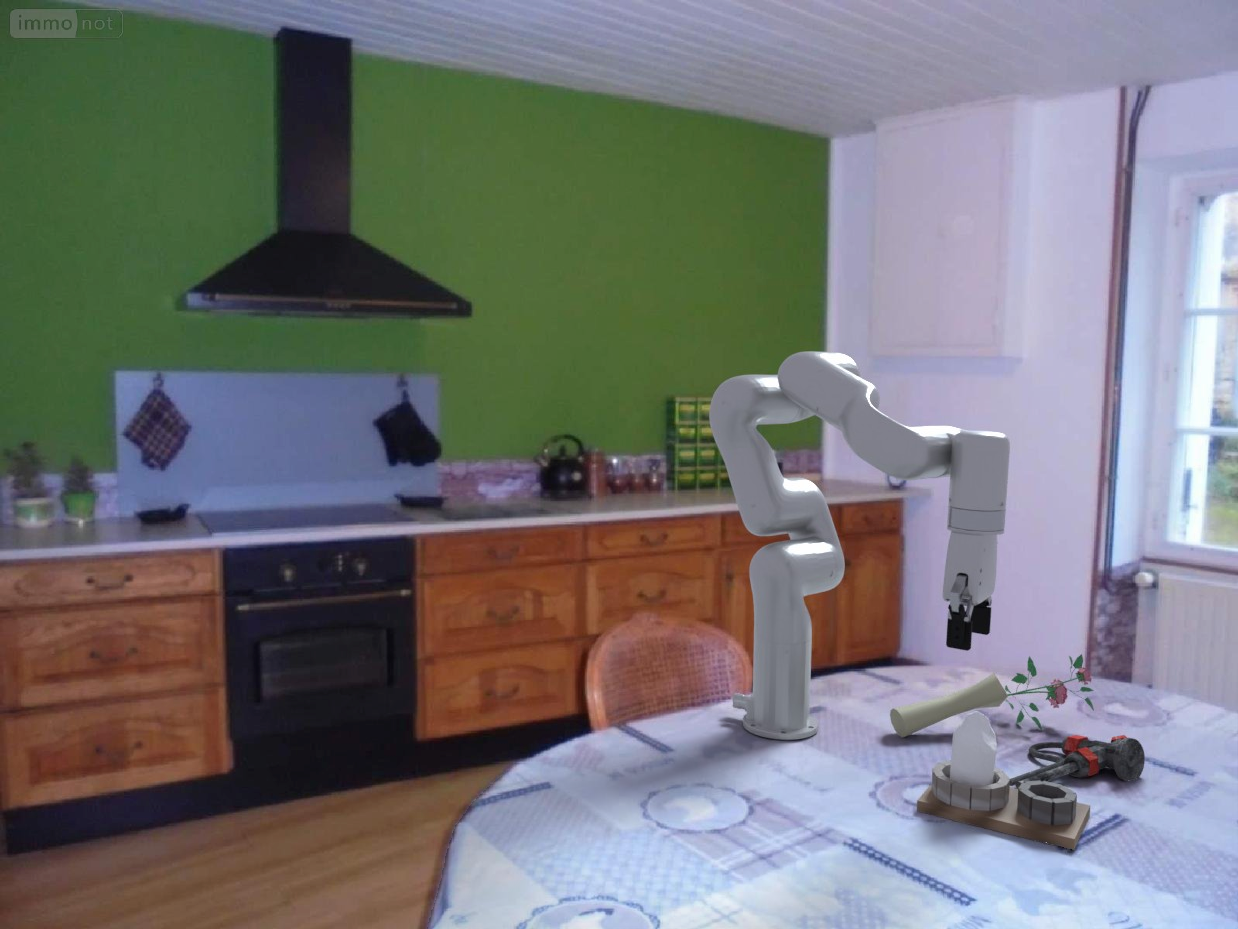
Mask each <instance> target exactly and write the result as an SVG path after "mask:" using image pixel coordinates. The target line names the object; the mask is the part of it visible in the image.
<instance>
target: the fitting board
mask: <svg viewBox="0 0 1238 929" xmlns="http://www.w3.org/2000/svg"><path fill="white" fill-rule="evenodd" d="M950 767H951V759H950V760H945V761H941V762H938V763H936V765H934V766H933V768H932V771H931V772H932V774H931V784H930V785H929V787H928V788H927V789H926V790H925V791H923V793H922V794H921V796H919V798H918V799H917V800H916V801H917V802H916V812H919V813H924V814H928V815H932V816H934V817H940V818H943V819H947V820H950V821H951V820H952V821H955V822H959V823H964V824H966V825H967V824H968V825H971V826H975V827H979V828H983V829H987V830H992V831H994V832H995V831H996V832H1000V833H1003V834H1007V835H1010V836H1011V835H1012V836H1014V835H1015V837H1018V836H1019V838H1023V839H1026V838H1027V840H1030V839H1032V840H1031V841H1034V840H1036V841H1035V842H1038V841H1039V843H1042V842H1047V843H1048V844H1047V845H1050V844H1053V845H1052V846H1054V845H1058V846H1061V847H1060V848H1062V847H1064V848H1063V849H1066V848H1067V850H1070V849H1072V850H1071V851H1075V849H1076V847H1077V844H1078V843H1077V842H1079V841H1080V838H1081V836H1082V834H1083V831H1084V829H1085V827H1086V825H1087V823H1088V820H1089V818H1090V814H1091V805H1089V804H1085V803H1081V802H1077V799H1078V794H1077V792H1075V791H1073V790H1072V789H1070V788H1069V787H1067V786H1066V785H1063V784H1059V783H1056V782H1052V781H1051V782H1050V781H1043V782H1042V781H1040V780H1039V781H1026V782H1024V783H1023V782H1022V783H1021V785H1020V787H1019V788H1018V789H1017V788H1016V787H1012V786H1010V779H1011V778H1010V777H1009V776H1008V774H1007V773H1006V772H1005V771H1004V770H1002V769H1000V768H997V767H995V768H994V776H993V784H991V785H986V786H985V785H969V784H965V783H960V782H956V781H954V780H952V779H950ZM1058 846H1057V847H1058Z"/></svg>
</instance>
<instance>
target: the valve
mask: <svg viewBox="0 0 1238 929" xmlns="http://www.w3.org/2000/svg"><path fill="white" fill-rule="evenodd" d="M1042 749H1061V751H1062V754H1064V755H1065V756H1066V757H1065V758H1063V757H1061V756H1057V755H1052V754H1048V753H1044V752H1040V751H1039V750H1042ZM1028 753H1029V754H1030V756H1032V757H1034V758H1036V759H1039V760H1043V761H1047V762H1051V764H1048V765H1046V766H1043V767H1040V768H1037V769H1035V770H1031V771H1028V772H1026V773H1023V774H1019V775H1018V776H1015V777H1011V778H1010V787H1013V786H1015V788H1016V789H1018V788H1019V787H1020V785H1021V783H1022V782H1023V783H1024V782H1026V781H1039V780H1040V781H1042V782H1043V781H1047V782H1050V781H1052V780H1054V779H1057V778H1060V777H1063V776H1066V775H1068V774H1069V776H1071V777H1073V778H1079V779H1084V778H1088V777H1091V776H1094V775H1096V774H1099V773H1100V772H1099V771H1100V770H1102V769H1104V768H1108V769H1114V771H1115V774H1116V776H1117V777H1118V778H1119V779H1120V780H1122V781H1124V782H1129V781H1128V780H1131V781H1134V780H1137V779H1139V778H1140V777H1141V775H1142V773H1143V771H1144V768H1145V759H1146V757H1145V750H1144V747H1143V746H1142V744H1141V742H1140V740H1137V739H1136V738H1133V737H1127V736H1126V735H1125V734H1123V735H1117V736H1113V737H1111V739H1110V742H1105V741H1101V740H1090V739H1089V738H1088V736H1083V735H1080V734H1074V735H1068V736H1067V737H1065V738H1063V740H1062V741H1043V742H1038V743H1034V744H1032V745H1031V746H1029V748H1028ZM1136 778H1137V779H1136Z"/></svg>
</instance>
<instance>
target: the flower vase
mask: <svg viewBox="0 0 1238 929" xmlns="http://www.w3.org/2000/svg"><path fill="white" fill-rule="evenodd" d="M1068 658H1069V661H1070V665H1071V666H1070V668H1069V671H1070V673H1071V675H1070V677H1072V676H1073V672H1075V670H1076V669H1078V671H1077V672H1075V675H1076V677H1074V678H1070V679H1069V680H1065V681H1063V680H1060V679H1059V678H1057V679H1056V678H1054V679H1053V682H1050V685H1044V686H1040V687H1035V688H1030V689H1028V687H1029V684H1030V682H1031V679H1032V678H1033V677H1036V676H1037V668H1036V666H1035V664H1034V660H1033V659H1032V658H1031V656H1030V655H1029V656H1028V658H1027V659H1028V660H1027V672H1028V674H1027V676H1026V675H1024V674H1022V673H1020V672H1019V673H1018V672H1015V674H1016V675H1015V676H1014V677H1013V678H1012V679H1011V680H1010V681H1012V682H1015V683H1016V684H1018V685H1017V687H1016V691H1015V692H1011V690H1010V689H1009V687H1008V686H1007V684H1006V685H1005V686H1004V687H1005V688H1004V687H1003V685H1002V684H1001V682H1000V680H999V678H998V676H997V675H996V674H995V672H993V673H992V674H989V675H988V676H987V677H985V678H983V679H982V680H981V681H979V682H977V683H974V684H973V685H970V686H968V687H966V688H963V689H959V690H958V691H956V692H955V691H954V692H951V693H950V694H946V695H943V696H940V697H937V698H932V699H928V700H922V701H918V702H914V703H911V704H906V705H900V706H898V707H894V708H891V709H890V711H889V718H890V722H891V725H892V727H893V730H894V731H895V733H897V735H898V736H899V737H900V738H906V737H908V736H910V735H912V734H914V733H917V732H919V731H921V730H923V729H926V728H928V727H931V726H933V725H936V724H937V723H939V722H941V721H944V720H946V719H948V718H949V719H950V718H951V717H955V716H956V715H959V714H964V713H966V712H969V711H973V710H976V709H984V708H987V709H988V708H999V707H1000V706H1001V705H1002V704H1003V703H1004V702H1007V703H1008V705H1009V706H1010V708H1011V710H1012V711H1013V710H1014V708H1015V707H1014V704H1013V703H1011V702H1010V701H1009V700H1008V699H1007V698H1008V697H1010V696H1012V697H1013V698H1015V696H1018V695H1019V696H1020V695H1026V694H1037V693H1038V694H1039V693H1040V694H1042V693H1043V694H1047V696H1046V698H1045V701H1049V702H1050V706H1051V707H1052V706H1053V707H1052V709H1057V708H1058V709H1059V708H1060V706H1061V705H1063V704H1065V703H1066V700H1067V699H1068V697H1069V696H1068V691H1070V692H1071V693H1073V694H1074V695H1076V696H1078V697H1079V698H1081V699H1083V700H1084V701H1085V702H1086V704H1087V705H1088V706H1089V707H1090V709H1091V710H1092V711H1095V710H1094V705H1093V703H1092V701H1091V699H1090V698H1089V697H1086V698H1084V697H1081V696H1079V695H1078V694H1076V693H1078V692H1083V693H1085V692H1087V693H1088V692H1089V693H1090V692H1093V691H1095V690H1094V689H1092V688H1090V687H1088V686H1087V687H1086V686H1085V685H1089V684H1090V683H1091V682H1092V677H1091V675H1092V674H1091V671H1090V670H1089V669H1088V668H1087V667H1085V666H1083V664H1084V658H1083V654H1082V653H1081V654H1080V655H1079V656H1077V657H1076V659H1075V660H1074V659H1073V657H1072V656H1071V655H1068ZM1073 667H1074V669H1073V671H1071V669H1072V668H1073ZM1029 675H1031V678H1029ZM1029 679H1030V680H1029ZM1077 679H1078V683H1080V682H1081V683H1083V685H1084V686H1081V687H1080V689H1079V690H1076V691H1075V690H1070V689H1069V688H1067V687H1066V685H1065V684H1066V683H1070V682H1072V681H1075V680H1077ZM1088 682H1090V683H1088ZM1021 684H1022V685H1024V684H1026V685H1027V686H1026V689H1025V690H1021V691H1018V689H1019V686H1020V685H1021ZM1045 688H1046V689H1047V690H1041V689H1045ZM1039 689H1040V690H1039ZM1007 692H1008V693H1007ZM1019 704H1020V705H1021V707H1022V708H1021V709H1020V710H1019V713H1018V715H1017V719H1016V722H1015V724H1019V723H1021V722H1022V721H1023V720H1024V718H1025V715H1024V713H1023V711H1022V710H1023V709H1024V710H1025V713H1026V714H1027V715H1029V713H1028V712H1027V711H1026V708H1025V707H1024V706H1026V707H1029V708H1030V709H1031V711H1034V712H1037V713H1038V712H1039V711H1040V710H1039V708H1038V706H1037V705H1036V704H1035V703H1034V702H1030V703H1029V705H1027V704H1024V703H1021V702H1019ZM1023 705H1024V706H1023ZM1030 718H1031V720H1032V721H1033V722H1034V723H1035V724H1036V726H1037V727H1038V729H1039V730H1040V731H1041V730H1042V731H1043V729H1042V725H1041V723H1040V720H1039V719H1038V718H1037V717H1036V716H1030Z"/></svg>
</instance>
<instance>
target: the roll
mask: <svg viewBox="0 0 1238 929" xmlns="http://www.w3.org/2000/svg"><path fill="white" fill-rule="evenodd" d="M951 743H952V744H951V754H950V758H951V759H950V760H951V767H950V779H952V780H954V781H956V782H960V783H965V784H969V785H985V786H986V785H991V784H993V776H994V768H996V757H997V749H998V748H997V746H998V744H997V736H996V733H995V731H994V729H993V728H992V726H991V723H990V720H989V718H988V717H987V716H986V714H983V713H981V712H980V711H976V710H975V711H973V712H972V713H971V712H970V713H966V715H965V718H964V720H963V721H962V723H961V724H959V725H958V726H957V727H956V728H955V730H953V733H952V742H951Z"/></svg>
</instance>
